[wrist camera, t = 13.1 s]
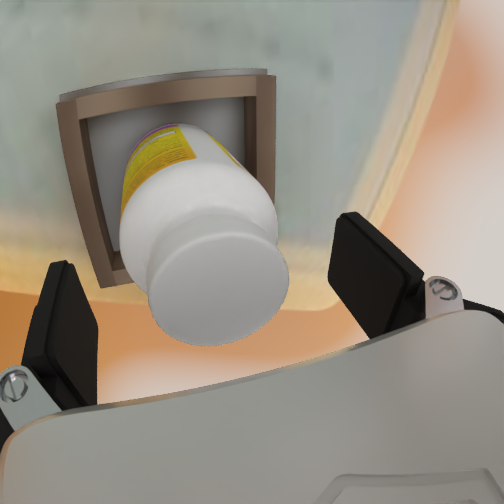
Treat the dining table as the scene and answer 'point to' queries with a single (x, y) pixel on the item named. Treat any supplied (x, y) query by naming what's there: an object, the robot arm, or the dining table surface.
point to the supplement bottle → (200, 238)
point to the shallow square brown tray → (145, 120)
